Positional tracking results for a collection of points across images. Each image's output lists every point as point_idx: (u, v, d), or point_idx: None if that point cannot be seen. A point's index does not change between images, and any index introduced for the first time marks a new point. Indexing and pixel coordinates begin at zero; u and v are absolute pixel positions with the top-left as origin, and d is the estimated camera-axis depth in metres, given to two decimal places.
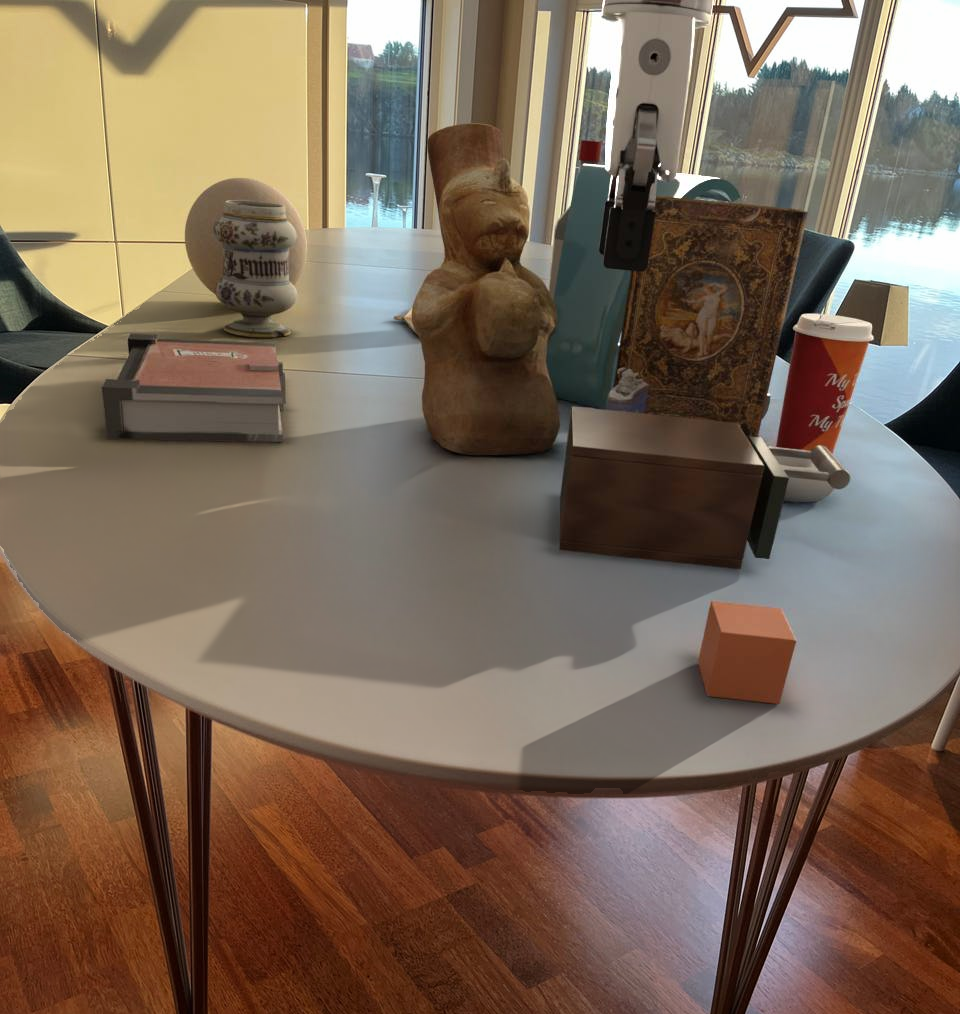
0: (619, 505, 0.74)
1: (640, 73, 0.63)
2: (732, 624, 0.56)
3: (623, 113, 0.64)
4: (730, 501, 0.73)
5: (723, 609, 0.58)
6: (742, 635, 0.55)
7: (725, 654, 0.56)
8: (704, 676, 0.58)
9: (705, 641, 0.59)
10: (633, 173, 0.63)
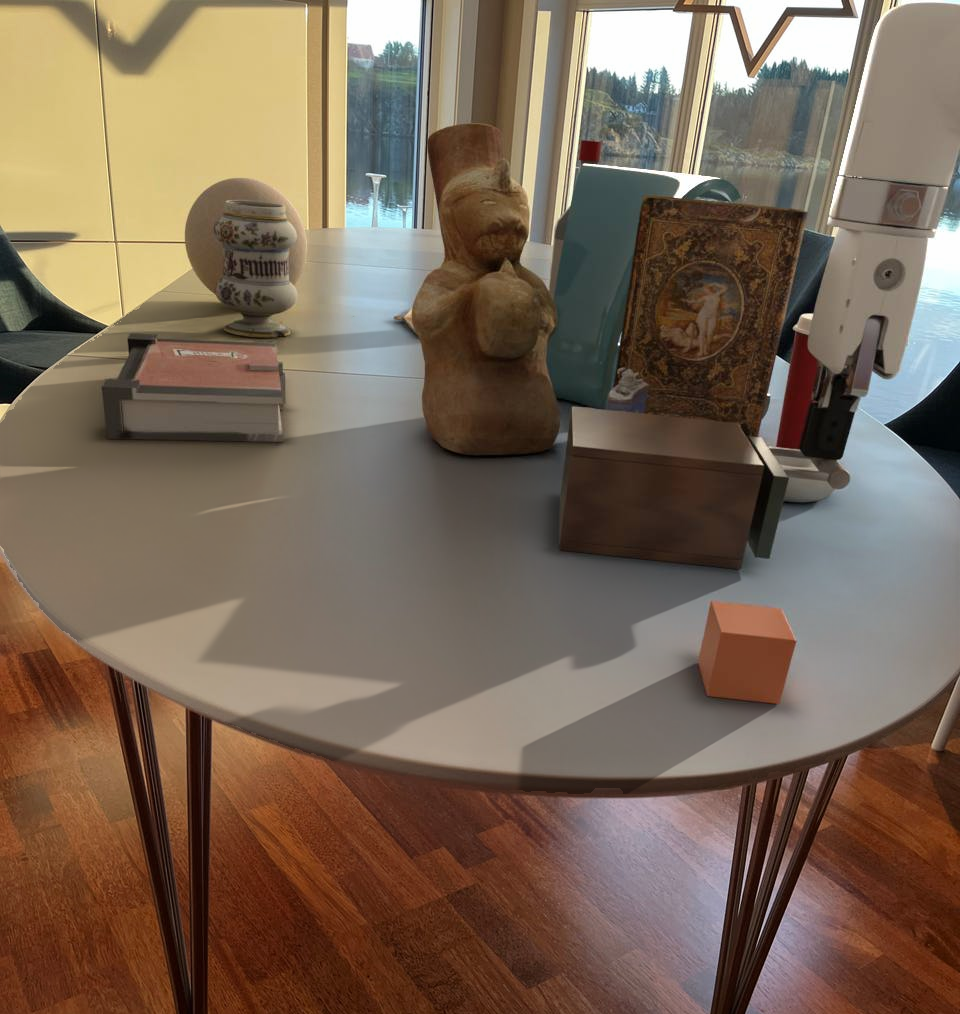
0: (619, 505, 0.74)
1: (873, 288, 0.66)
2: (732, 624, 0.56)
3: (853, 322, 0.67)
4: (730, 501, 0.73)
5: (723, 609, 0.58)
6: (742, 635, 0.55)
7: (725, 654, 0.56)
8: (704, 676, 0.58)
9: (705, 641, 0.59)
10: (842, 393, 0.71)
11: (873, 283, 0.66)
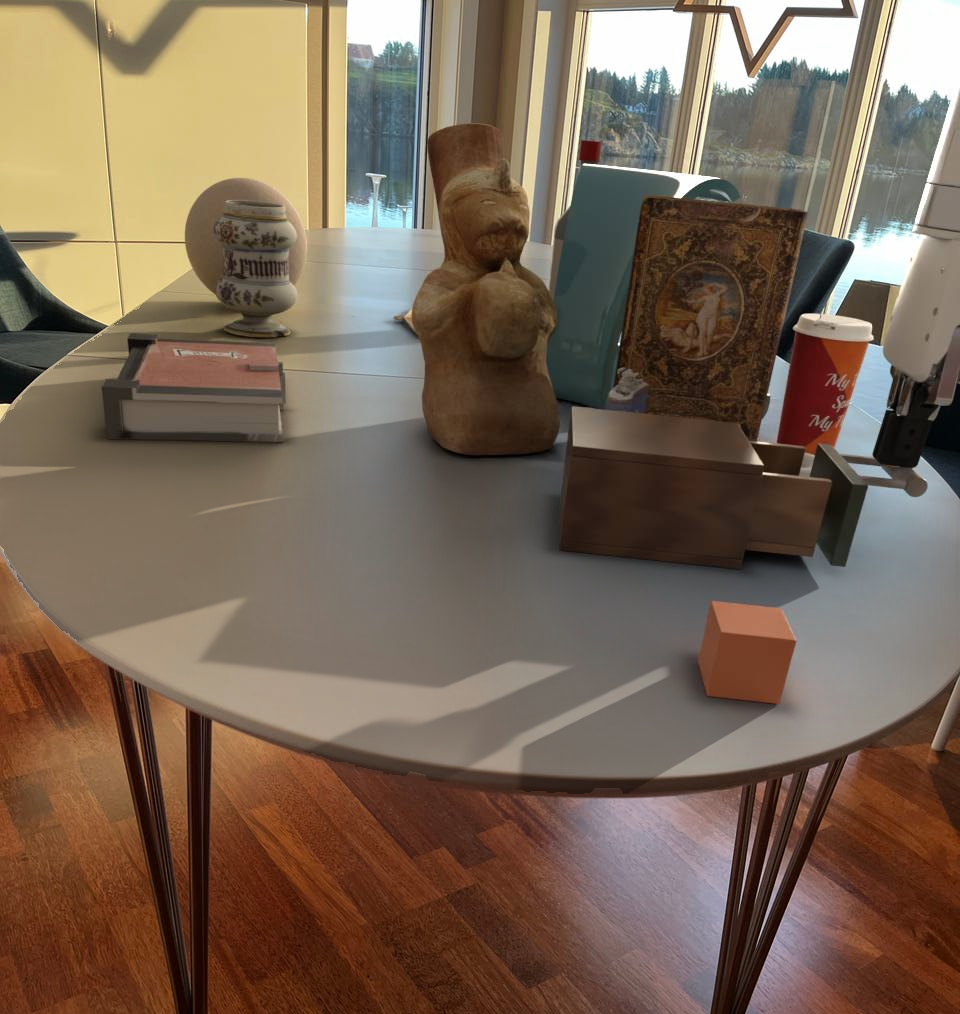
0: (619, 505, 0.74)
1: None
2: (732, 624, 0.56)
3: (940, 330, 0.67)
4: (730, 501, 0.73)
5: (723, 609, 0.58)
6: (742, 635, 0.55)
7: (725, 654, 0.56)
8: (704, 676, 0.58)
9: (705, 641, 0.59)
10: (924, 401, 0.71)
11: None
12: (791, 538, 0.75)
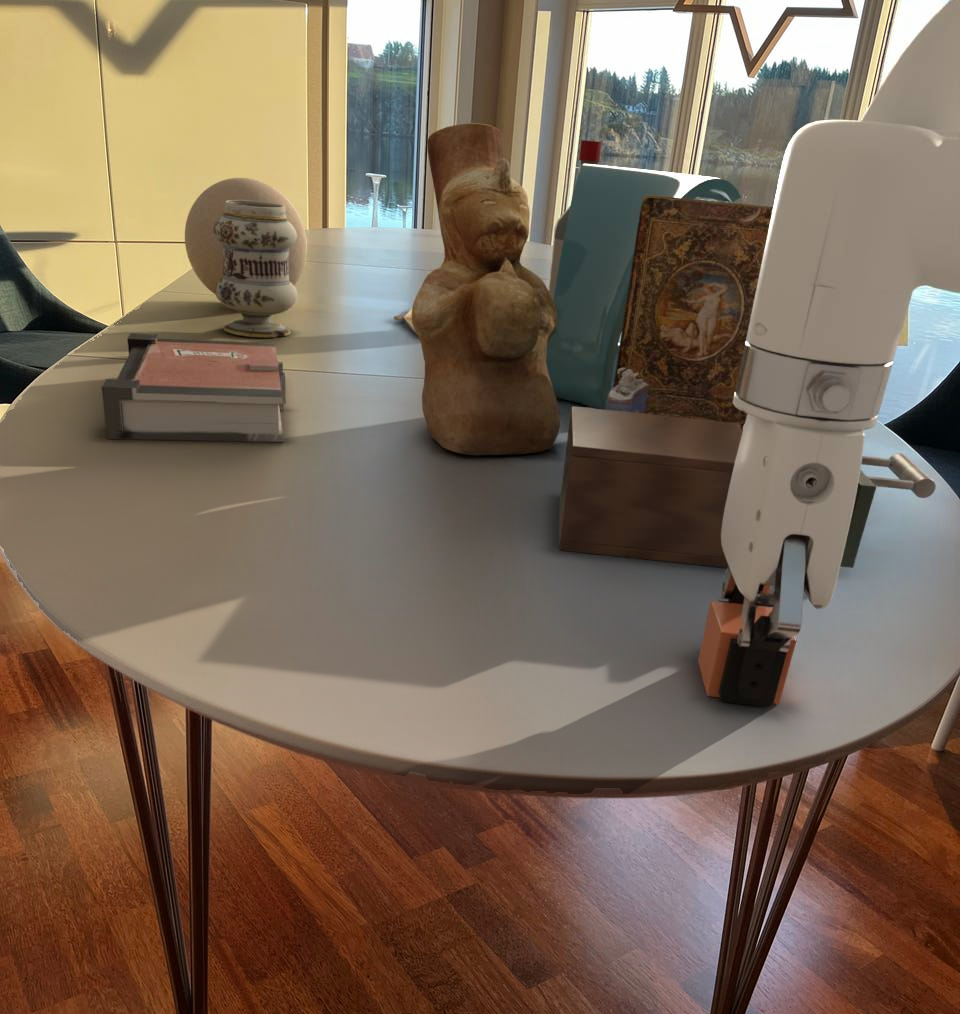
0: (619, 505, 0.74)
1: (790, 499, 0.48)
2: (732, 624, 0.56)
3: (766, 541, 0.49)
4: None
5: (723, 609, 0.58)
6: None
7: (725, 654, 0.56)
8: (704, 676, 0.58)
9: (705, 641, 0.59)
10: (767, 633, 0.51)
11: (790, 494, 0.48)
12: None
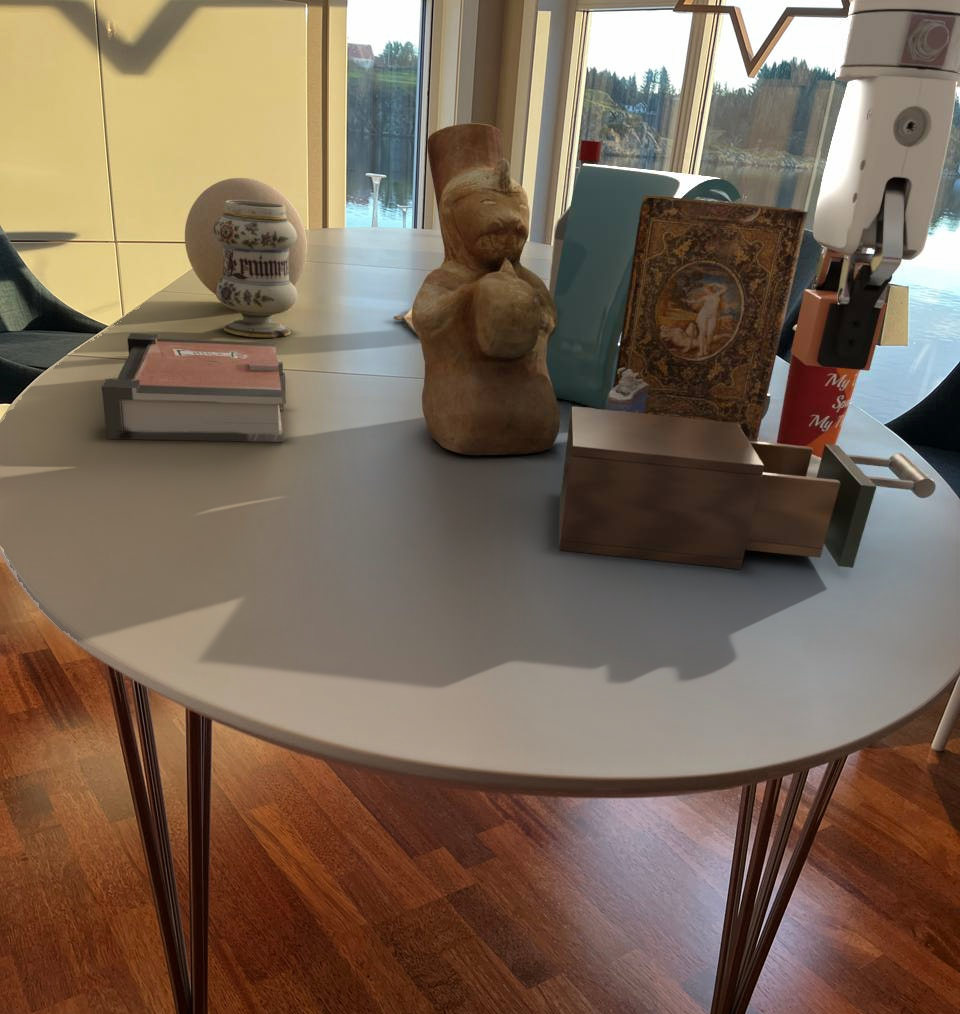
0: (619, 505, 0.74)
1: (892, 144, 0.56)
2: (828, 296, 0.63)
3: (869, 187, 0.57)
4: (730, 501, 0.73)
5: (817, 292, 0.65)
6: None
7: (824, 320, 0.63)
8: (800, 354, 0.66)
9: (799, 326, 0.67)
10: (868, 278, 0.59)
11: (893, 137, 0.56)
12: (799, 539, 0.75)
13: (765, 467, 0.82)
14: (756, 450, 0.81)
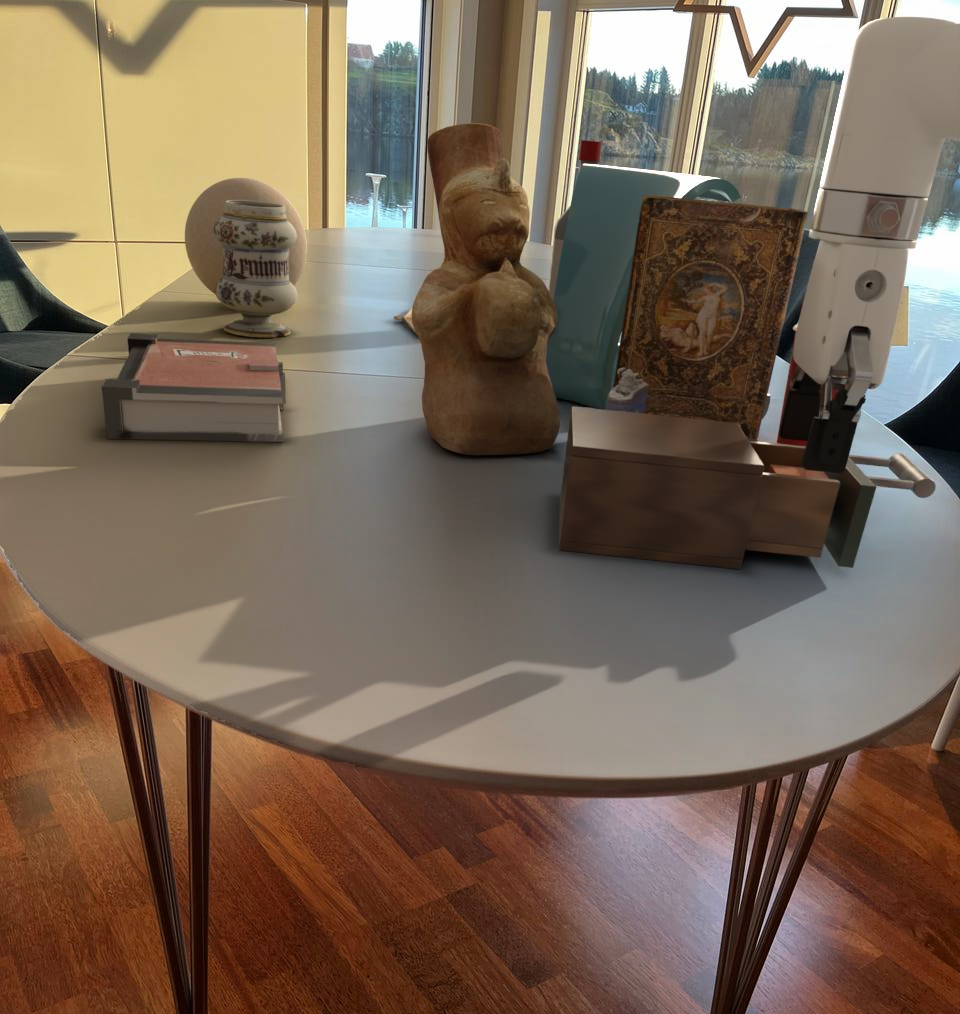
0: (619, 505, 0.74)
1: (854, 299, 0.67)
2: None
3: (835, 333, 0.68)
4: (730, 501, 0.73)
5: (780, 468, 0.79)
6: None
7: None
8: None
9: None
10: (845, 397, 0.67)
11: (854, 294, 0.67)
12: (799, 539, 0.75)
13: (765, 467, 0.82)
14: (756, 450, 0.81)
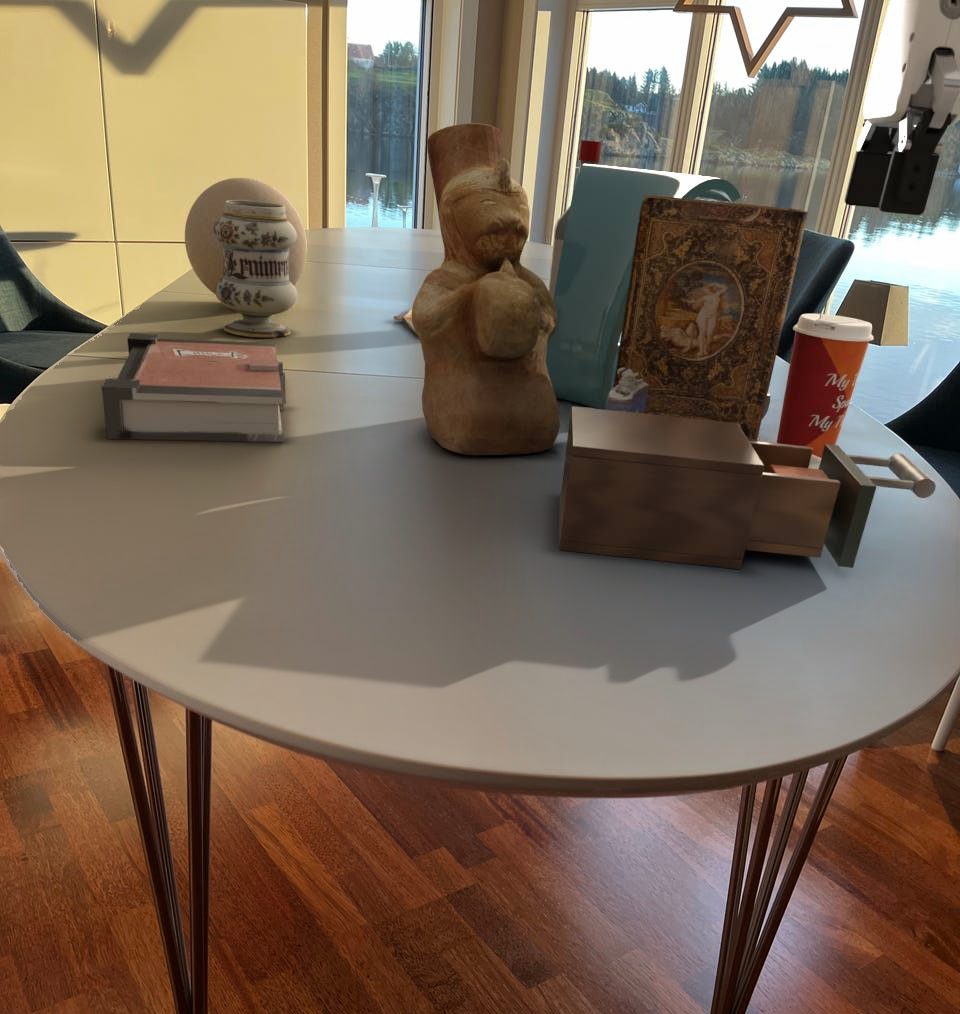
0: (619, 505, 0.74)
1: (938, 17, 0.65)
2: None
3: (917, 57, 0.66)
4: (730, 501, 0.73)
5: (780, 468, 0.79)
6: None
7: None
8: None
9: None
10: (932, 115, 0.65)
11: (939, 11, 0.64)
12: (799, 539, 0.75)
13: (765, 467, 0.82)
14: (756, 450, 0.81)
